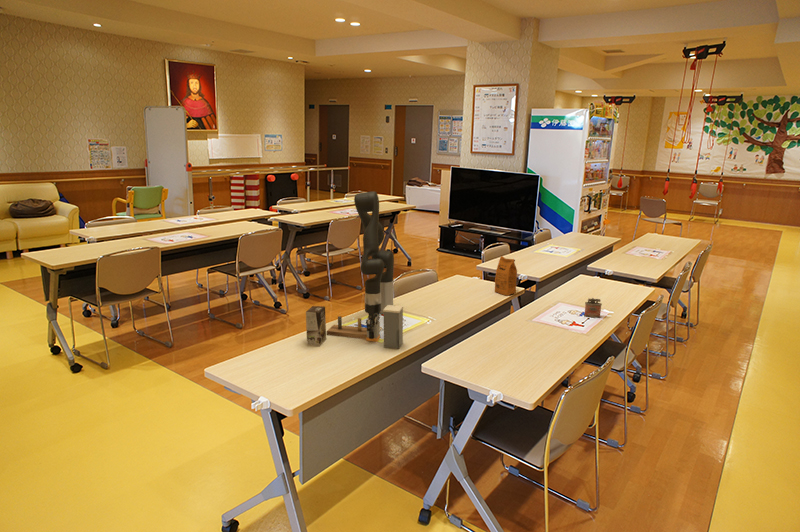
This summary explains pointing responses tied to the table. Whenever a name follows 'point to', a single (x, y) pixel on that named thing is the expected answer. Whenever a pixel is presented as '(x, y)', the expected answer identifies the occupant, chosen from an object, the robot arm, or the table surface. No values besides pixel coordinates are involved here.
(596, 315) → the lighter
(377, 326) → the sleeve
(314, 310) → the coffee box
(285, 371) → the table surface
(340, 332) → the pin block
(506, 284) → the coffee package
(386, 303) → the robot arm
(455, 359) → the table surface
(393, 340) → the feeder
